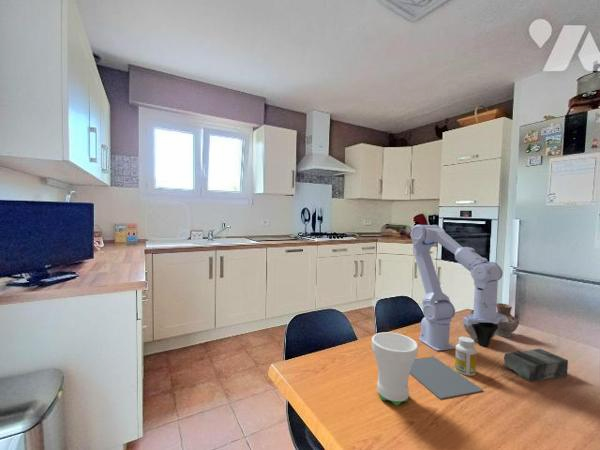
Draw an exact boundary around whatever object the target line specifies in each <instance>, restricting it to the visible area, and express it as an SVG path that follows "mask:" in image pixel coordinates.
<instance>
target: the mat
mask: <svg viewBox="0 0 600 450" xmlns="http://www.w3.org/2000/svg"><path fill="white" fill-rule="evenodd" d="M409 375H411V376H412V377H413V379H416V381H417V382H419V383H420V384H421V385H422V386H423V387H424V388H426V389H427V390H428V391H429V392H431V393H432V394H433V395H434V396H435V397H436V398H438V400H443V399H449V398H453V397H460V396H466V395H470V394H478V393H482V392H484V389H482V388H481V387H479V386H478V385H477V384H475V383H474V382H472V381H470V380H469V379H468V378H466V377H465V376H464V375H463V374H461V373H459V372H458V371H457V370H454V369H453V368H451V367H450V366H449V365H447V364H445V363H444V362H442V361H441V360H439V358H436V357H435V356H428V357H426V356H425V357H420V358H418V357H417V358H416V359H415V360H414V362H413V364H412V367H411V370H410V373H409Z"/></svg>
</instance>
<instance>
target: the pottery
mask: <svg viewBox="0 0 600 450" xmlns="http://www.w3.org/2000/svg"><path fill="white" fill-rule="evenodd" d="M512 307H513V306H512V305H510V304H509V303H508V304H507V303H501V302H498V303H497V308H496V314H502V315H505V316H506V317H505V322H501V321H499V323H497V324H496V325H498V329H497V330H496V331H495V333H494V334H493V336H492V338H491V339H493V338H494V337H495V336H500V337H503V338H511V337H512V333H514V332H515V331H516V330H517V328H518V327H519V324H520V321H519V320H518V319H517V317H515V316H514V315H512V314H511V311H512V310H513V309H512ZM471 314H474V309H473V310H471V311H470V315H471ZM462 324H463V323H462ZM462 326H463V328H464V329H465V331H466V333H467V334H468V335H469V336H470V338H471V339H473V340H474V343H478V340H477V336H476V333H475V330H474V328H473V326H472V325H470V326H468V325H465V324H463V325H462Z"/></svg>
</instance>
